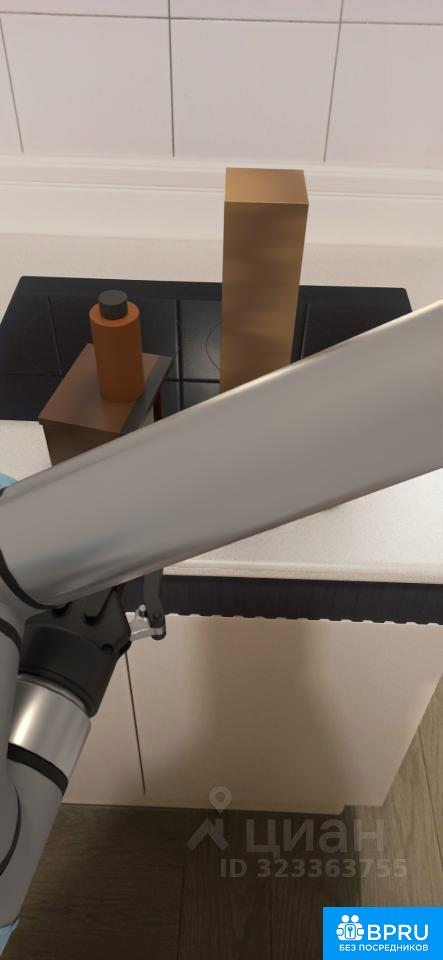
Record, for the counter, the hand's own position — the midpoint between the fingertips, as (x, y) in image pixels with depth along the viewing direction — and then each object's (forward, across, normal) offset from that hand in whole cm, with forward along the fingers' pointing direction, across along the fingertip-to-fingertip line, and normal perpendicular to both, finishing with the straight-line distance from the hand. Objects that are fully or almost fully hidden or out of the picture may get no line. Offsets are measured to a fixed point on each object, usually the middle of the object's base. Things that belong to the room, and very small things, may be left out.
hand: (151, 461), depth 60 cm
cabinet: (+10, -8, -13) cm, 18 cm away
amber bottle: (+10, -6, -1) cm, 12 cm away
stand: (+9, +7, -13) cm, 17 cm away
